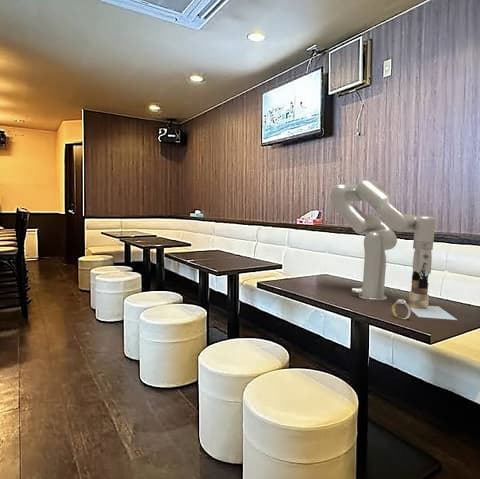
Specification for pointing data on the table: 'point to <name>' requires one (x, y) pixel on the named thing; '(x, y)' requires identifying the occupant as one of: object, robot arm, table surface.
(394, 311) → the bracelet
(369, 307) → the table surface
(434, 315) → the board
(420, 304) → the base block
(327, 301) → the table surface
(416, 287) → the walnut block
